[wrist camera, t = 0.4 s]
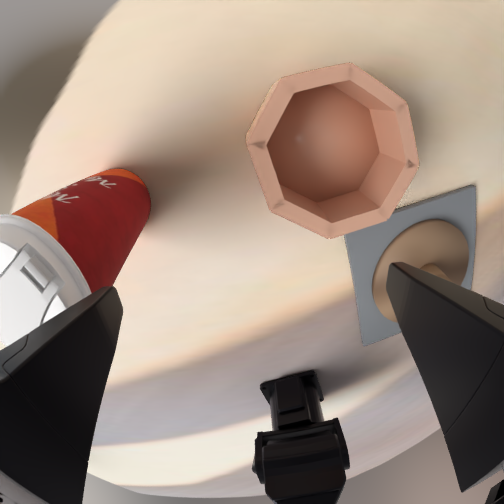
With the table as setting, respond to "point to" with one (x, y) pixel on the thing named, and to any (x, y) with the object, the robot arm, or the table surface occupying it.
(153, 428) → the table surface
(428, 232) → the lid
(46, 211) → the paper cup
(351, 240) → the mat
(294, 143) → the bowl
